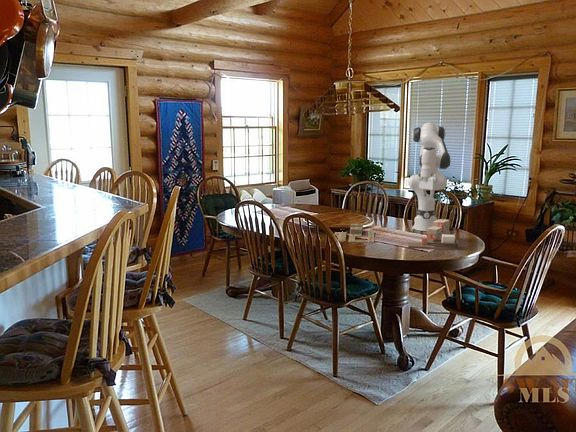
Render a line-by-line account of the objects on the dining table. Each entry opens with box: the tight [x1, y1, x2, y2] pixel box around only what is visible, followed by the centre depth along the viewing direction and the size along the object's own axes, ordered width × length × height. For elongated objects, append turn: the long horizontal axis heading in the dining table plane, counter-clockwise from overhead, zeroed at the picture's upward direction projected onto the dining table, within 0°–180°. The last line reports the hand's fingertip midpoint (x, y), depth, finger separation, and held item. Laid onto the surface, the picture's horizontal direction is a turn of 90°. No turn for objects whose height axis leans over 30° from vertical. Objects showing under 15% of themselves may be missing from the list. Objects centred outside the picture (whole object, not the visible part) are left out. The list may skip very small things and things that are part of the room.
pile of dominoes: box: [334, 223, 375, 244], centre depth 333 cm, size 35×27×6 cm
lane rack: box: [407, 237, 459, 251], centre depth 303 cm, size 12×28×5 cm, turn 78°
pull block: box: [421, 234, 456, 245], centre depth 302 cm, size 6×19×6 cm, turn 78°
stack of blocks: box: [426, 218, 451, 242], centre depth 319 cm, size 21×6×12 cm, turn 141°
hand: (428, 197), depth 303 cm, fingers open, 8 cm apart
